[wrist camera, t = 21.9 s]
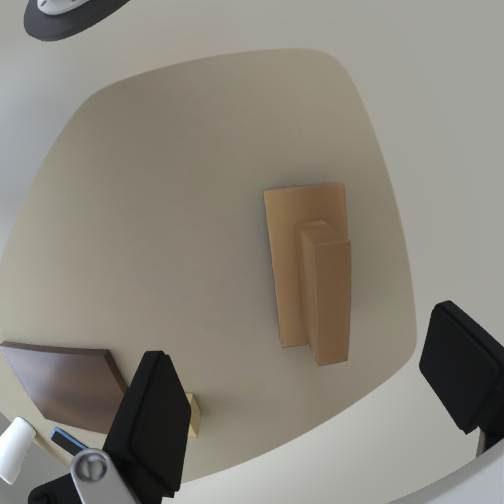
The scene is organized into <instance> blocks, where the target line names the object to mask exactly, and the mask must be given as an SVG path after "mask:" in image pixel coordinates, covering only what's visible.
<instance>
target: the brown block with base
mask: <svg viewBox="0 0 504 504" xmlns="http://www.w3.org/2000/svg"><path fill="white" fill-rule="evenodd" d="M263 196H264V204H265V212H266V219H267V227H268V236H269V244H270V252H271V260H272V269H273V278H274V286H275V295H276V304H277V313H278V323H279V332H280V339H281V344H282V348H285V347H292V346H298V345H305V344H310V346H311V349H312V352H313V355H314V358H315V361H316V365H317V366H324V365H329V364H334V363H339V362H344V361H347V360H348V348H349V332H350V308H351V245H350V240H349V239H348V238H347V219H346V204H345V191H344V184H341V183H335V182H334V183H323V184H312V185H302V186H293V187H284V188H275V189H267V190H263Z"/></svg>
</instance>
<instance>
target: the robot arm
mask: <svg viewBox="0 0 504 504" xmlns="http://www.w3.org/2000/svg"><path fill="white" fill-rule="evenodd" d="M87 1H89V0H37V4H38V8H39V10H41V11H42V12H44V13H45V14H48V15H57V14H62V13H65V12H67V11H70V10H72V9H74V8H76V7H78V6H80V5H82V4H84V3H86V2H87ZM419 368H420V371H421V373H422V374H423V376H424V377H425V378H426V380H427V381H428V383H429V384H430V386H431V387H432V389H433V390H434V391H435V393H436V394H437V396H438V397H439V399H440V400H441V402H442V403H443V405H444V406H445V408H446V409H447V411H448V412H449V414H450V416H451V417H452V419H453V420H454V422H455V423H456V425H457V426H458V428H459V429H460V430H463V431H464V433H465V434H466V435H467V434H468V433H470V432H472V431H473V430H475V429H476V428H477V427H478V426H479V428H480V429H481V430H480V436H479V442H478V448H477V453H476V458H475V459H474V460H472V461H471V462H469V463H468V464H466V465H465V466H463V467H461V468H460V469H458V470H456V471H455V472H453V473H451V474H449V475H447V476H446V477H444V478H442V479H440V480H438V481H436V482H434V483H433V484H430V485H428V486H426V487H424V488H422V489H420V490H418V491H416V492H413V493H411V494H409V495H407V496H404V497H402V498H399V499H397V500H394V501H392V502H389V503H386V504H504V347H503V346H501V344H500V343H499V342H497V341H496V340H495V339H494V338H493V337H492V336H491V335H490V334H489V333H488V332H487V331H486V330H484V329H483V328H482V327H481V326H480V325H479V324H478V323H476V322H475V321H474V320H473V319H472V318H470V316H468V315H467V314H466V313H465V312H464V311H463V310H461V309H460V308H459V307H458V306H457V305H455V304H454V303H453V302H452V301H450V300H448V301H444V302H442V303H438V304H436V306H435V307H434V309H433V310H432V313H431V318H430V322H429V327H428V331H427V336H426V340H425V344H424V348H423V352H422V355H421V359H420V363H419ZM191 414H192V410H191V405H190V403H189V401H188V399H187V396H186V394H185V392H184V390H183V387H182V385H181V383H180V380H179V378H178V375H177V373H176V371H175V368H174V366H173V363H172V361H171V358H170V356H169V355H165V354H164V352H163V351H146V352H145V353H144V355H143V358H142V360H141V362H140V364H139V366H138V369H137V371H136V373H135V375H134V378H133V380H132V382H131V385H130V387H129V388H128V389H127V391H126V392H125V394H124V397H123V399H122V401H121V404H120V406H119V408H118V411H117V413H116V416H115V418H114V420H113V423H112V425H111V428H110V430H109V433H108V435H107V438H106V441H105V443H104V446H103V448H102V450H100V449H97V448H88V449H84V450H82V451H81V452H79V453H78V454H77V455H76V456H75V457H74V458H73V460H72V462H71V467H70V470H71V473H69V474H67V475H64V476H62V477H60V478H58V479H55V480H53V481H50V482H48V483H45V484H43V485H40V486H38V487H36V488H34V489H33V490H32V491H31V492H30V495H29V497H28V504H161V501H162V497H170V498H174V493H175V492H176V491H177V492H178V491H179V489H180V484H181V477H182V470H183V464H184V457H185V451H186V444H187V438H188V432H189V426H190V420H191Z"/></svg>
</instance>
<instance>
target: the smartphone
mask: <svg viewBox="0 0 504 504" xmlns="http://www.w3.org/2000/svg"><path fill="white" fill-rule="evenodd" d="M51 440H52V441H53V442H55V443H56V444H57V445H59V446H60V447H62V448H63V449H65V450H66V451H67V452H69V453H70V454H72V455H73V456H76V455H77V454H78V453H79V452H81V451H82V450H84V449H88V448H86V447H85V446H83V445H82V444H80V443H79V442H77V441H76V440H74V439H73V438H71V437H70V436H69V435H67V434H66V433H65V432H63V431H62V430H60V429H58V428H55V430H54V432H53V433H52V435H51Z"/></svg>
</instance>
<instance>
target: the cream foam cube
mask: <svg viewBox="0 0 504 504" xmlns="http://www.w3.org/2000/svg"><path fill="white" fill-rule="evenodd" d="M185 394H186V396H187V399H188V401H189V403H190V405H191V410H192V414H191V420H190V426H189V432H188V437H189V438H197V437H198V431H199V424H200V418H201V412H200V410H199V407H198V405H197V402H196V400H195V397H194V395H193V393H185Z"/></svg>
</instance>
